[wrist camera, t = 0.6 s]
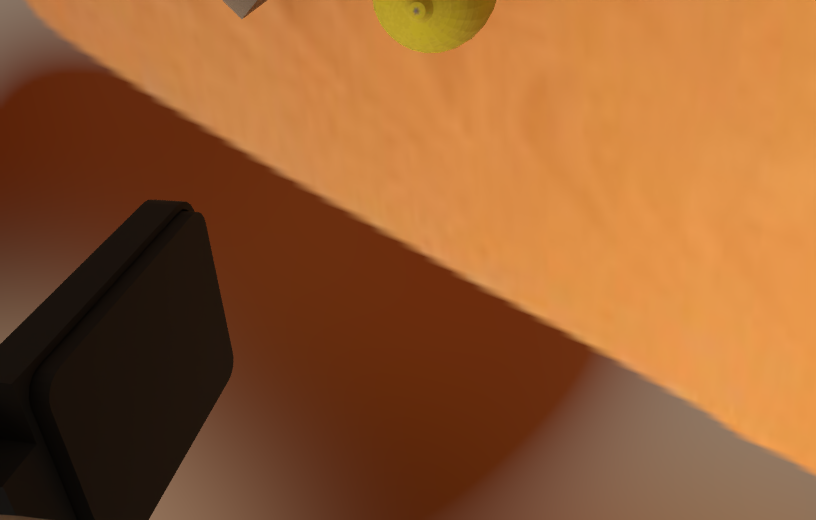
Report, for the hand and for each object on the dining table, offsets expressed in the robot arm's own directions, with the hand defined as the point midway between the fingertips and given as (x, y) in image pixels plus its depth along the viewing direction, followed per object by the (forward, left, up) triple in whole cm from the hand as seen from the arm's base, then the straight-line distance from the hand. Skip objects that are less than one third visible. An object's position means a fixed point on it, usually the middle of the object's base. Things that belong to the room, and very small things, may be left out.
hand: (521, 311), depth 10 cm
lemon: (+6, -3, -29) cm, 30 cm away
